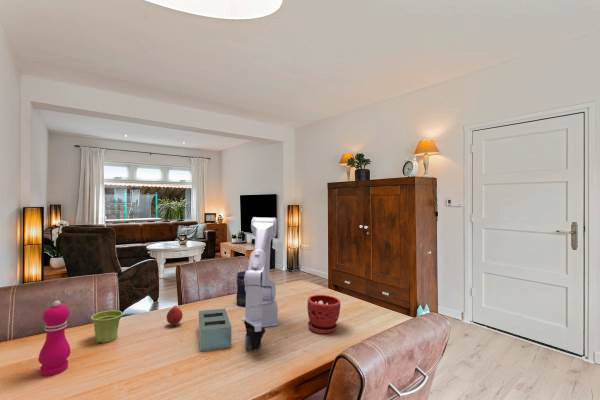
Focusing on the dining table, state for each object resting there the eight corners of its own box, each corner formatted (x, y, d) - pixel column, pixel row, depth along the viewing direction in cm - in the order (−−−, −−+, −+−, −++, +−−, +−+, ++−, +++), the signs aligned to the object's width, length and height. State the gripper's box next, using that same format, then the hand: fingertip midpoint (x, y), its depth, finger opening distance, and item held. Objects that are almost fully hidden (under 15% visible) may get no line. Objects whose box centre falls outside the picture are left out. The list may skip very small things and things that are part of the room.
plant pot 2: (317, 338, 112) (318, 306, 112) (301, 325, 124) (301, 296, 124) (346, 332, 118) (347, 301, 118) (328, 320, 130) (328, 292, 130)
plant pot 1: (117, 331, 114) (118, 308, 114) (124, 339, 107) (125, 315, 107) (87, 338, 107) (88, 314, 108) (93, 348, 101) (94, 322, 101)
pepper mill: (50, 363, 91) (52, 296, 91) (75, 363, 91) (78, 296, 92) (30, 377, 83) (33, 304, 84) (58, 376, 84) (61, 304, 84)
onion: (176, 329, 117) (176, 308, 117) (163, 327, 118) (163, 307, 118) (184, 323, 123) (185, 303, 123) (172, 322, 124) (172, 302, 124)
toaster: (224, 325, 122) (225, 308, 122) (230, 347, 104) (231, 326, 104) (198, 328, 118) (199, 310, 118) (200, 351, 100) (200, 330, 100)
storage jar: (254, 307, 143) (255, 276, 144) (234, 307, 144) (234, 275, 144) (257, 301, 153) (258, 271, 154) (238, 300, 154) (239, 270, 154)
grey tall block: (259, 346, 105) (259, 332, 105) (260, 349, 103) (261, 334, 103) (245, 348, 103) (245, 333, 103) (246, 351, 101) (246, 336, 102)
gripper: (239, 298, 109) (237, 336, 109) (246, 312, 95) (244, 356, 95) (258, 297, 111) (257, 334, 111) (268, 310, 98) (266, 353, 98)
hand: (253, 344), depth 103 cm, fingers open, 7 cm apart
